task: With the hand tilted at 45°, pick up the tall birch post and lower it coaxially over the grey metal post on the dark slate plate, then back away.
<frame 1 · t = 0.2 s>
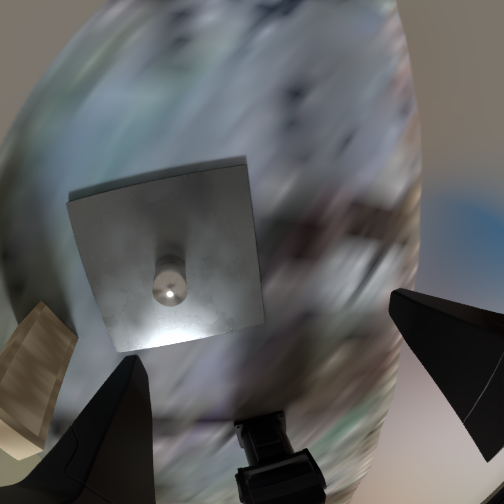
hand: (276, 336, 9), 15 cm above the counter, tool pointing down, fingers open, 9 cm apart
birch post: (46, 331, 22), on the counter
post plate: (170, 267, 23), on the counter
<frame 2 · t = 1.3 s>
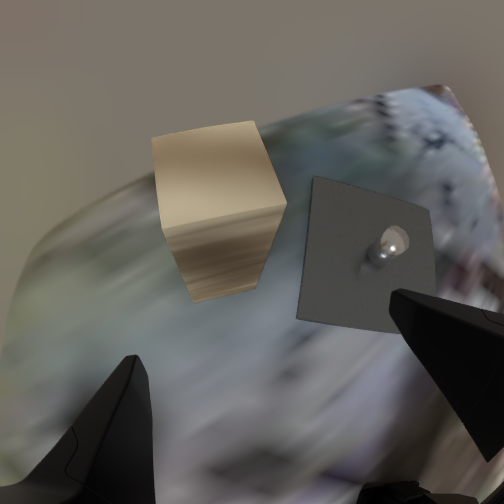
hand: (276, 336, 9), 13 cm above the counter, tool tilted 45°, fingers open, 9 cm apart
birch post: (217, 267, 24), on the counter
post plate: (376, 256, 26), on the counter
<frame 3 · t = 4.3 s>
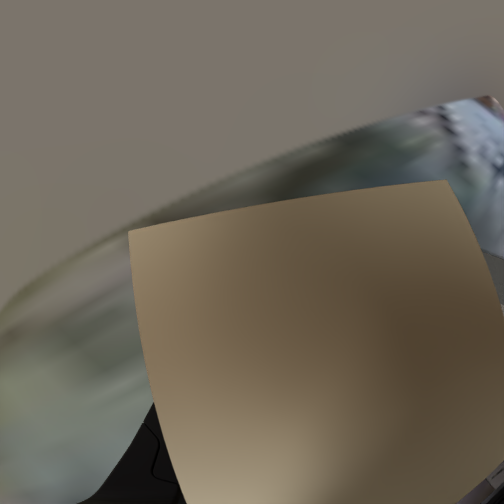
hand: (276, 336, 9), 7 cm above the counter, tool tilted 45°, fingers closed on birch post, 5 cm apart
birch post: (264, 374, 15), on the counter, touching gripper
post plate: (463, 335, 16), on the counter
when the fingers open (8 cm above the counter, at t = 9.4 s): birch post stays where it is, resting on post plate.
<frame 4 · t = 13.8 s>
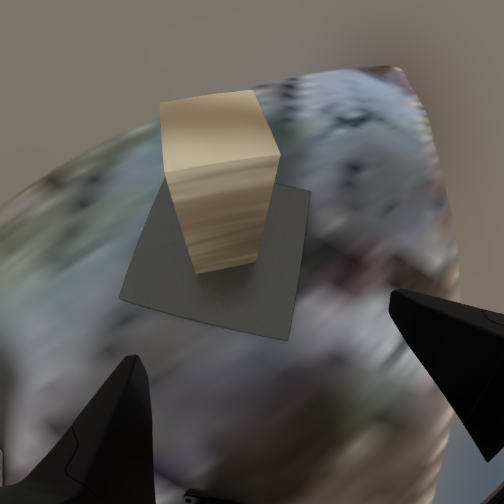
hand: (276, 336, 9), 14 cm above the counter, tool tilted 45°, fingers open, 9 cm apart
birch post: (220, 240, 24), point 1 cm above the counter, touching post plate
post plate: (220, 243, 25), on the counter
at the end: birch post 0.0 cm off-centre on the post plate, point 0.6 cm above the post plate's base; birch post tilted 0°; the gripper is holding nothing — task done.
